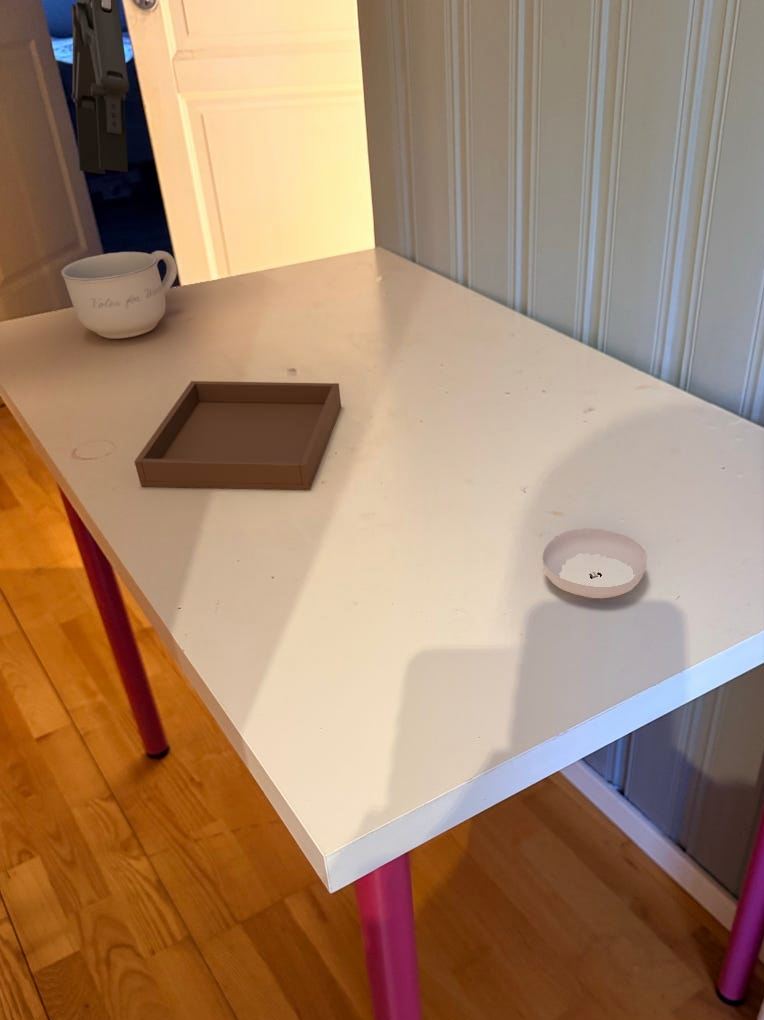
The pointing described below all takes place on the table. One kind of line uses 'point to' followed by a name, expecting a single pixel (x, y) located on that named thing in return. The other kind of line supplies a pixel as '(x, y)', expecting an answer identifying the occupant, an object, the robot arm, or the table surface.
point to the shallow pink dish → (593, 544)
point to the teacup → (119, 291)
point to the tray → (242, 436)
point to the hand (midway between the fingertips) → (102, 171)
